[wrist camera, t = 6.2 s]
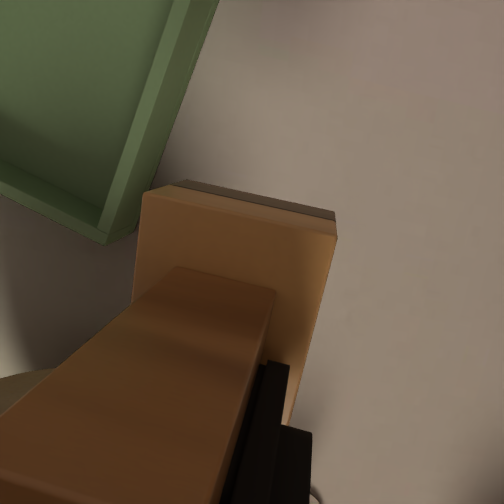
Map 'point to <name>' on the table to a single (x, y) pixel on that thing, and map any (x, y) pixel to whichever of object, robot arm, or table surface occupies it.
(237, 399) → the wooden inverted t block
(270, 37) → the table surface
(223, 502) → the robot arm
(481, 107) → the table surface
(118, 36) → the tray
